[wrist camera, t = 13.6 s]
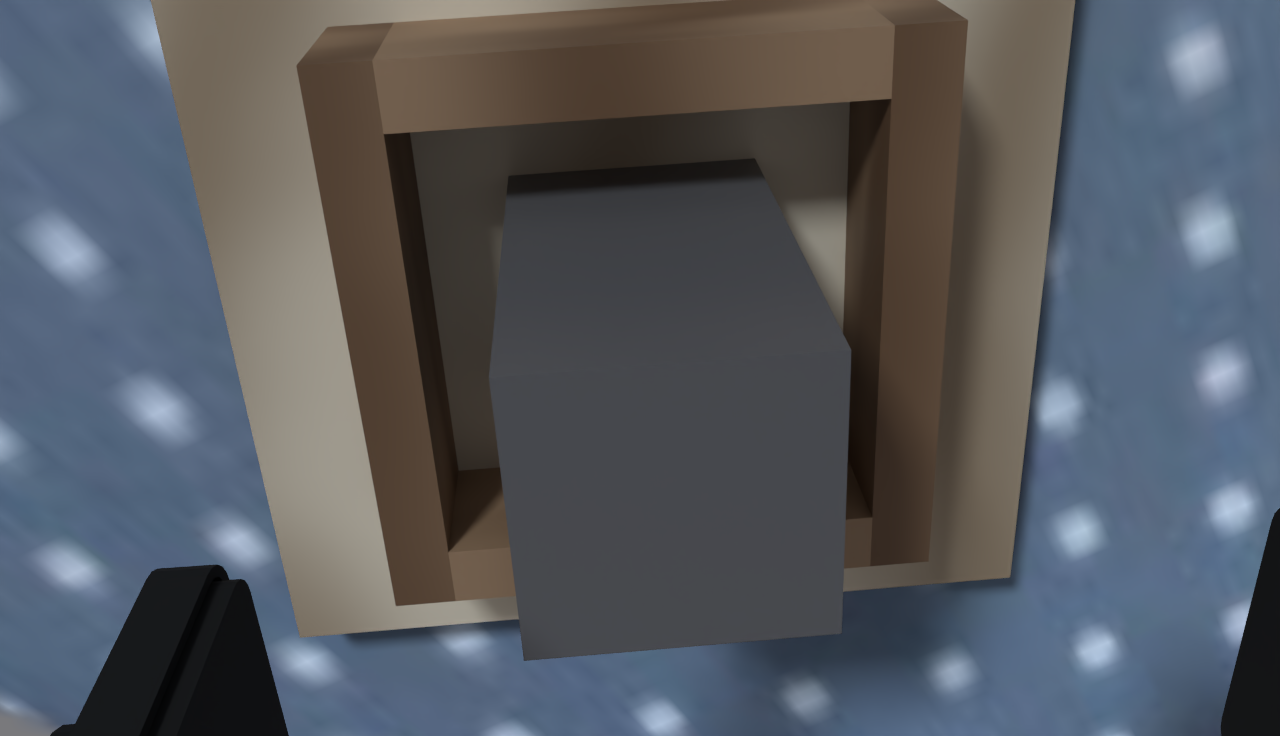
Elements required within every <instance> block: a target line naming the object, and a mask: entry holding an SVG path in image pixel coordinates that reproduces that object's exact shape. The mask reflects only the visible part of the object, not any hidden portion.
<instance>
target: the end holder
mask: <svg viewBox="0 0 1280 736" xmlns="http://www.w3.org/2000/svg"><path fill="white" fill-rule="evenodd" d="M151 3H152V7H153V12H154V16H155V20H156V25H157V29H158V33H159V37H160V42H161V46H162V50H163V54H164V59H165V63H166V67H167V71H168V76H169V80H170V84H171V89H172V93H173V97H174V101H175V106H176V110H177V114H178V118H179V123H180V127H181V131H182V136H183V140H184V144H185V148H186V153H187V157H188V161H189V165H190V170H191V174H192V178H193V182H194V187H195V191H196V195H197V200H198V204H199V208H200V212H201V217H202V221H203V225H204V229H205V234H206V238H207V242H208V246H209V251H210V255H211V259H212V264H213V268H214V272H215V276H216V281H217V285H218V289H219V293H220V298H221V302H222V306H223V311H224V315H225V319H226V323H227V328H228V332H229V336H230V340H231V345H232V349H233V353H234V357H235V362H236V366H237V370H238V375H239V379H240V383H241V387H242V392H243V396H244V400H245V404H246V409H247V413H248V417H249V421H250V426H251V430H252V434H253V439H254V443H255V447H256V451H257V456H258V460H259V464H260V468H261V473H262V477H263V481H264V486H265V490H266V494H267V498H268V503H269V507H270V511H271V515H272V520H273V524H274V528H275V532H276V537H277V541H278V545H279V550H280V554H281V558H282V562H283V567H284V571H285V575H286V579H287V584H288V588H289V592H290V596H291V601H292V605H293V609H294V614H295V618H296V622H297V626H298V631H299V635H300V637H312V636H324V635H336V634H348V633H360V632H371V631H383V630H395V629H407V628H419V627H431V626H442V625H454V624H466V623H478V622H490V621H501V620H513V619H519V616H518V608H517V600H516V592H515V584H514V576H513V568H512V560H511V552H510V544H509V536H508V528H507V520H506V512H505V504H504V495H503V487H502V479H501V471H500V463H499V455H498V447H497V439H496V431H495V423H494V415H493V407H492V399H491V391H490V383H489V371H490V361H491V351H492V340H493V330H494V320H495V309H496V299H497V288H498V278H499V268H500V257H501V247H502V236H503V226H504V216H505V205H506V195H507V185H508V176H511V175H525V174H539V173H554V172H568V171H582V170H596V169H610V168H624V167H639V166H653V165H667V164H681V163H695V162H709V161H723V160H738V159H752V158H755V160H756V162H757V164H758V166H759V167H760V169H761V171H762V173H763V175H764V177H765V179H766V181H767V183H768V185H769V187H770V189H771V191H772V193H773V195H774V197H775V199H776V201H777V203H778V205H779V207H780V209H781V211H782V213H783V215H784V217H785V219H786V221H787V223H788V225H789V227H790V229H791V231H792V233H793V235H794V237H795V239H796V241H797V243H798V245H799V247H800V249H801V251H802V253H803V255H804V257H805V259H806V261H807V263H808V265H809V267H810V269H811V271H812V273H813V275H814V277H815V279H816V281H817V283H818V285H819V287H820V289H821V291H822V293H823V295H824V297H825V299H826V301H827V303H828V305H829V307H830V309H831V311H832V313H833V315H834V317H835V319H836V321H837V323H838V325H839V327H840V329H841V331H842V333H843V334H844V336H845V338H846V340H847V342H848V344H849V346H850V348H851V375H850V404H849V434H848V463H847V493H846V522H845V552H844V581H843V592H845V591H856V590H868V589H880V588H892V587H904V586H915V585H927V584H939V583H951V582H963V581H975V580H986V579H998V578H1010V574H1011V565H1012V557H1013V548H1014V539H1015V530H1016V521H1017V512H1018V503H1019V495H1020V486H1021V477H1022V468H1023V459H1024V450H1025V441H1026V433H1027V424H1028V415H1029V406H1030V397H1031V388H1032V379H1033V370H1034V362H1035V353H1036V344H1037V335H1038V326H1039V317H1040V308H1041V300H1042V291H1043V282H1044V273H1045V264H1046V255H1047V246H1048V238H1049V229H1050V220H1051V211H1052V202H1053V193H1054V184H1055V176H1056V167H1057V158H1058V149H1059V140H1060V131H1061V122H1062V114H1063V105H1064V96H1065V87H1066V78H1067V69H1068V60H1069V52H1070V43H1071V34H1072V25H1073V16H1074V7H1075V0H151Z"/></svg>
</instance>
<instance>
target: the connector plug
mask: <svg viewBox="0 0 1280 736" xmlns="http://www.w3.org/2000/svg"><path fill="white" fill-rule="evenodd" d="M850 375H851V348H850V346H849V344H848V342H847V340H846V338H845V336H844V334H843V333H842V331H841V329H840V327H839V325H838V323H837V321H836V319H835V317H834V315H833V313H832V311H831V309H830V307H829V305H828V303H827V301H826V299H825V297H824V295H823V293H822V291H821V289H820V287H819V285H818V283H817V281H816V279H815V277H814V275H813V273H812V271H811V269H810V267H809V265H808V263H807V261H806V259H805V257H804V255H803V253H802V251H801V249H800V247H799V245H798V243H797V241H796V239H795V237H794V235H793V233H792V231H791V229H790V227H789V225H788V223H787V221H786V219H785V217H784V215H783V213H782V211H781V209H780V207H779V205H778V203H777V201H776V199H775V197H774V195H773V193H772V191H771V189H770V187H769V185H768V183H767V181H766V179H765V177H764V175H763V173H762V171H761V169H760V167H759V166H758V164H757V162H756V160H755V158H752V159H738V160H723V161H709V162H695V163H681V164H667V165H653V166H639V167H624V168H610V169H596V170H582V171H568V172H554V173H539V174H525V175H511V176H508V185H507V195H506V205H505V216H504V226H503V236H502V247H501V257H500V268H499V278H498V288H497V299H496V309H495V320H494V330H493V340H492V351H491V361H490V371H489V383H490V391H491V399H492V407H493V415H494V423H495V431H496V439H497V447H498V455H499V463H500V471H501V479H502V487H503V495H504V504H505V512H506V520H507V528H508V536H509V544H510V552H511V560H512V568H513V576H514V584H515V592H516V600H517V608H518V616H519V624H520V632H521V640H522V648H523V656H524V661H527V660H539V659H550V658H562V657H574V656H586V655H597V654H609V653H621V652H632V651H644V650H656V649H668V648H679V647H691V646H703V645H715V644H726V643H738V642H750V641H762V640H773V639H785V638H797V637H808V636H820V635H832V634H842V611H843V581H844V552H845V522H846V493H847V463H848V434H849V404H850Z"/></svg>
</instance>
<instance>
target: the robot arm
mask: <svg viewBox="0 0 1280 736" xmlns="http://www.w3.org/2000/svg"><path fill="white" fill-rule="evenodd" d="M50 736H289V735H288V731H287V728H286V724H285V720H284V716H283V712H282V709H281V705H280V701H279V697H278V694H277V690H276V686H275V682H274V679H273V675H272V671H271V667H270V664H269V660H268V656H267V652H266V649H265V645H264V641H263V637H262V633H261V630H260V626H259V622H258V618H257V615H256V611H255V607H254V603H253V600H252V596H251V592H250V589H249V587H248V584H247V583H246V582H245V580H242V579H236V580H229V578H228V575H227V572H226V571H225V570H224V568H223V567H222V566H220V565H204V566H190V567H175V568H161V569H156V570H154V571H152V572H151V574H150V575H149V576H148V578H147V579H146V581H145V583H144V585H143V588H142V590H141V592H140V594H139V596H138V598H137V600H136V602H135V604H134V606H133V608H132V610H131V612H130V614H129V616H128V618H127V620H126V622H125V624H124V626H123V628H122V630H121V632H120V634H119V636H118V638H117V640H116V642H115V644H114V646H113V648H112V650H111V652H110V654H109V656H108V658H107V660H106V662H105V664H104V667H103V669H102V671H101V673H100V675H99V677H98V679H97V681H96V683H95V685H94V687H93V689H92V691H91V693H90V695H89V697H88V699H87V701H86V703H85V705H84V707H83V709H82V711H81V713H80V715H79V717H78V719H77V721H76V723H75V724H69V725H62V726H61V727H59V728H58V729H57V730H55V731H54V732H52V734H51V735H50ZM1221 736H1280V508H1279V509H1278V510H1277V512H1276V513H1275V514H1274V517H1273V519H1272V522H1271V526H1270V530H1269V534H1268V538H1267V542H1266V546H1265V550H1264V554H1263V558H1262V562H1261V566H1260V570H1259V573H1258V577H1257V581H1256V585H1255V589H1254V593H1253V597H1252V601H1251V605H1250V609H1249V613H1248V617H1247V621H1246V625H1245V629H1244V633H1243V637H1242V641H1241V645H1240V649H1239V653H1238V657H1237V661H1236V664H1235V668H1234V672H1233V676H1232V680H1231V684H1230V688H1229V692H1228V696H1227V700H1226V704H1225V708H1224V712H1223V716H1222V722H1221Z"/></svg>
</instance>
